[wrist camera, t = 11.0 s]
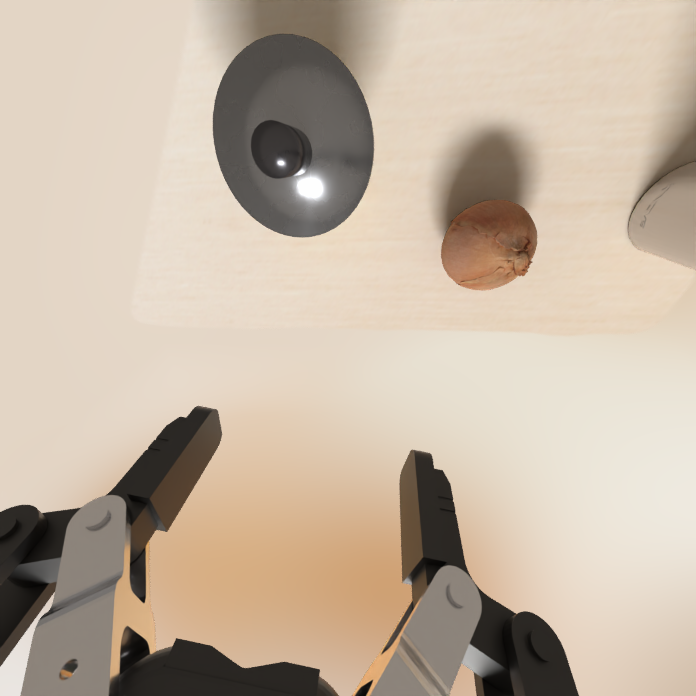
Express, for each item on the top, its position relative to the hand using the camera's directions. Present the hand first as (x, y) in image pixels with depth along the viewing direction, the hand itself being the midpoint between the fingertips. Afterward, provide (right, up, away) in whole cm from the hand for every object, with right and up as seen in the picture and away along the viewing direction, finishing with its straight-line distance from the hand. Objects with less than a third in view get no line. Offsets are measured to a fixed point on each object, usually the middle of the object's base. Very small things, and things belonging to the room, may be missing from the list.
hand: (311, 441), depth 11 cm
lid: (-3, +20, +12) cm, 23 cm away
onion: (+17, +18, +23) cm, 34 cm away
